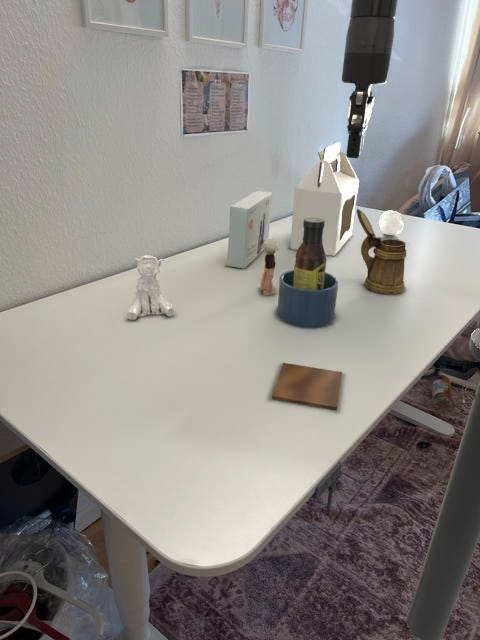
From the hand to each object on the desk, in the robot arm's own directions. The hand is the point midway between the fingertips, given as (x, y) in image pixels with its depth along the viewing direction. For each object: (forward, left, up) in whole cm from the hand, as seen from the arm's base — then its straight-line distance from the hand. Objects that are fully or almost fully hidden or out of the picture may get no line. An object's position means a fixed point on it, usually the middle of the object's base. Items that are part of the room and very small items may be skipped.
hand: (354, 154), depth 86 cm
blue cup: (+6, +1, -32) cm, 33 cm away
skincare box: (+26, -31, -33) cm, 52 cm away
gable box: (+8, -50, -33) cm, 60 cm away
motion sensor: (-12, -65, -33) cm, 73 cm away
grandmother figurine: (+16, -8, -33) cm, 37 cm away
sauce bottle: (+6, +1, -32) cm, 33 cm away
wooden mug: (-8, -20, -33) cm, 39 cm away
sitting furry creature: (+38, +9, -33) cm, 51 cm away
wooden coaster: (+2, +27, -32) cm, 43 cm away
